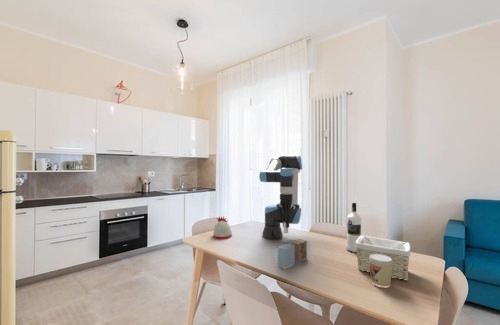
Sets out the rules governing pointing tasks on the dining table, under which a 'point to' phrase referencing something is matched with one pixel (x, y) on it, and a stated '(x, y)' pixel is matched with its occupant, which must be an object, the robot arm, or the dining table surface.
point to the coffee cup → (380, 269)
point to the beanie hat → (222, 229)
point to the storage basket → (384, 247)
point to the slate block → (286, 255)
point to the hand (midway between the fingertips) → (285, 232)
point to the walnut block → (300, 249)
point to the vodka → (353, 229)
